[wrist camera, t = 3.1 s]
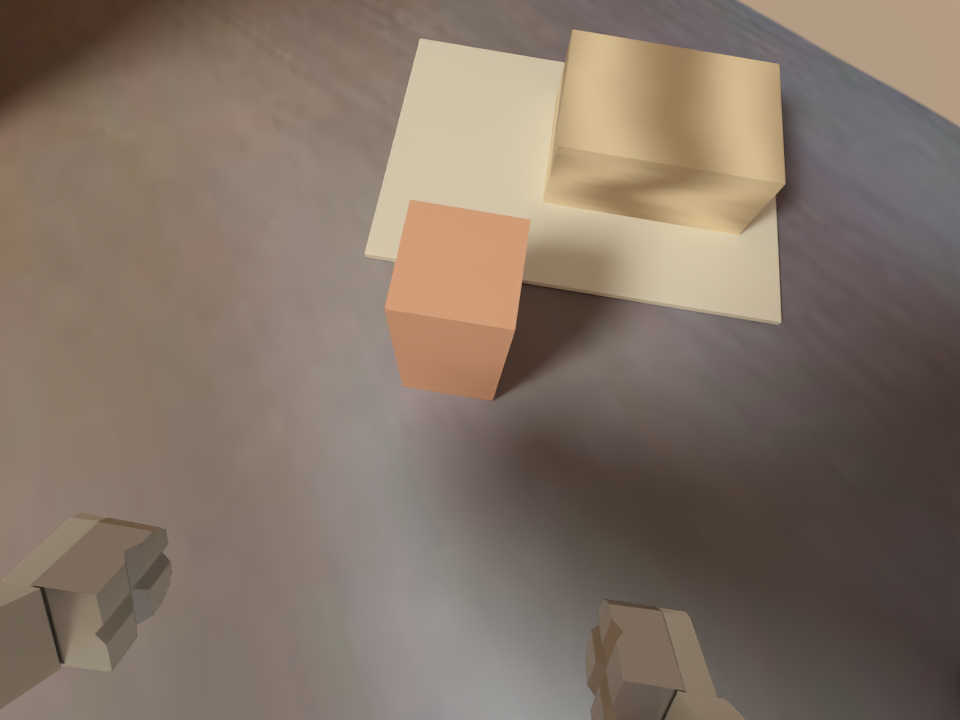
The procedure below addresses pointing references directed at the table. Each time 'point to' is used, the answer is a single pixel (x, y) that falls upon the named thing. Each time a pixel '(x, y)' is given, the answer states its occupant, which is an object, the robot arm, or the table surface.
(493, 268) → the pillar
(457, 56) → the mat
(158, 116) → the table surface
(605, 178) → the plinth
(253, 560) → the table surface
